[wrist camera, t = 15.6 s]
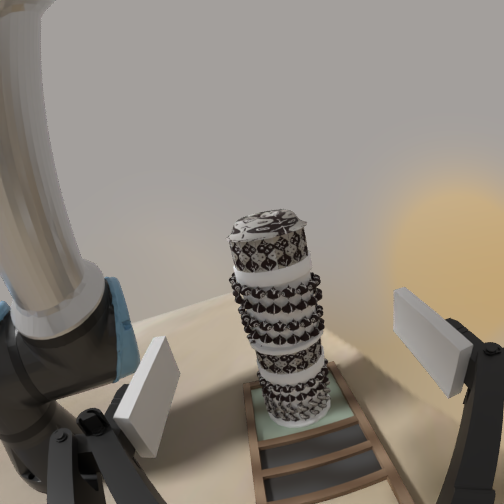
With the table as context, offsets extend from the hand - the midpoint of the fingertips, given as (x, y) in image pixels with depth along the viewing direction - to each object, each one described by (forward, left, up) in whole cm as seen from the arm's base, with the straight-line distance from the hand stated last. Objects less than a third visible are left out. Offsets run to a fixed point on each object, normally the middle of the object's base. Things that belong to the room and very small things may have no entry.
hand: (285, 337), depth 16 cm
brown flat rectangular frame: (-2, +4, -20) cm, 21 cm away
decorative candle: (-9, +11, -20) cm, 25 cm away
